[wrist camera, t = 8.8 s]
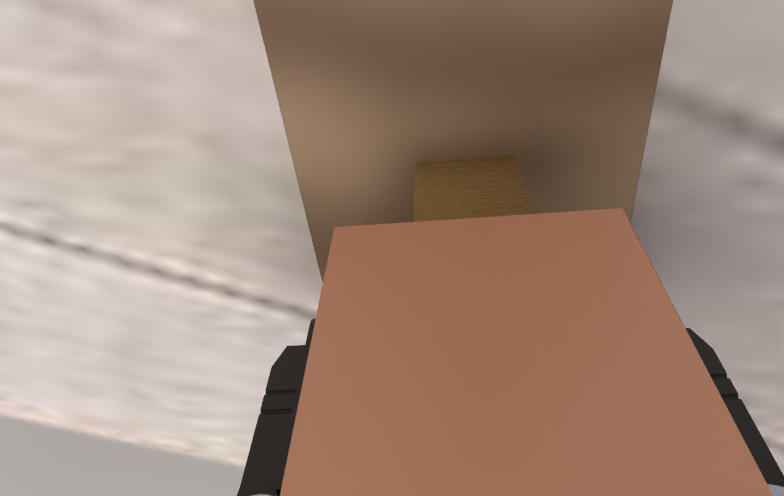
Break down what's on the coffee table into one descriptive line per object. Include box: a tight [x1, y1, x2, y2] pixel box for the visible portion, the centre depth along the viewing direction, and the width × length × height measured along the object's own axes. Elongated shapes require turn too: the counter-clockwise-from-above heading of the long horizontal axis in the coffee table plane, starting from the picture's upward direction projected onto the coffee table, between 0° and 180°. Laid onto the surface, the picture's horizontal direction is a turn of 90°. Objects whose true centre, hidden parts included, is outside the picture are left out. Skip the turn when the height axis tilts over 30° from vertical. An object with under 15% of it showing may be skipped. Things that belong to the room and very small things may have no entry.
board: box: [254, 0, 673, 282], centre depth 10 cm, size 16×9×8 cm, turn 6°
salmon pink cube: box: [280, 208, 773, 496], centre depth 9 cm, size 5×5×7 cm
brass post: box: [414, 155, 532, 222], centre depth 12 cm, size 3×3×7 cm
